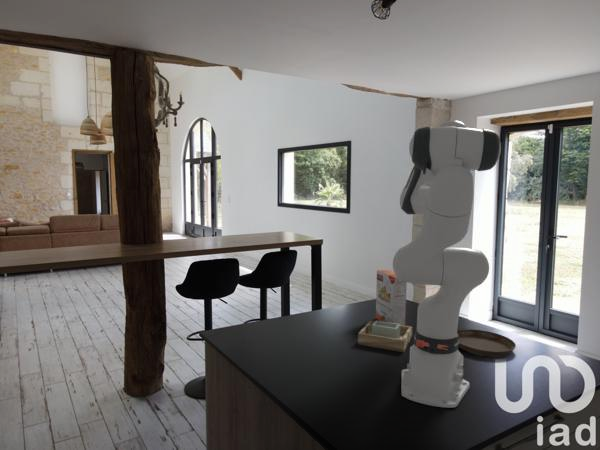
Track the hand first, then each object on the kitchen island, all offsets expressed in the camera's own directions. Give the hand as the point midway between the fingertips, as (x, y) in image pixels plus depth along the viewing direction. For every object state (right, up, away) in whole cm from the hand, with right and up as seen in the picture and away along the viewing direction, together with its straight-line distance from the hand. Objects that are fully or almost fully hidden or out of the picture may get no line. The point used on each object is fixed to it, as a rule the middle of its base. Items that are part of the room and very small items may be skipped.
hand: (433, 258), depth 155 cm
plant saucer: (+14, -31, -8) cm, 35 cm away
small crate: (-18, -28, -3) cm, 34 cm away
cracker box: (-13, -28, +16) cm, 35 cm away
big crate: (-18, -29, -3) cm, 35 cm away
